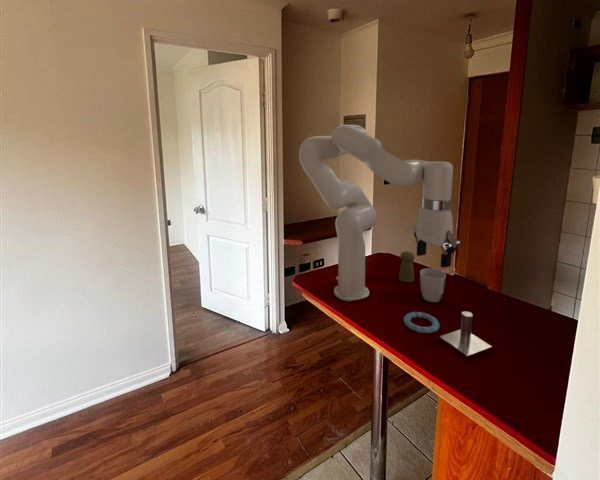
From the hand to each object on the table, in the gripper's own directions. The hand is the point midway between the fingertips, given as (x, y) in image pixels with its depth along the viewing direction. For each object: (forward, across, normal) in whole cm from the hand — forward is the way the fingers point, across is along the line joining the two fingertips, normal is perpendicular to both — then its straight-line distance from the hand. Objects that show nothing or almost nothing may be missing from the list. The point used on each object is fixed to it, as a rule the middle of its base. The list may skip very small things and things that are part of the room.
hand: (432, 260), depth 96 cm
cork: (+20, -26, +13) cm, 35 cm away
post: (+19, +13, 0) cm, 23 cm away
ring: (+18, +2, -4) cm, 19 cm away
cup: (+20, -9, +9) cm, 23 cm away
